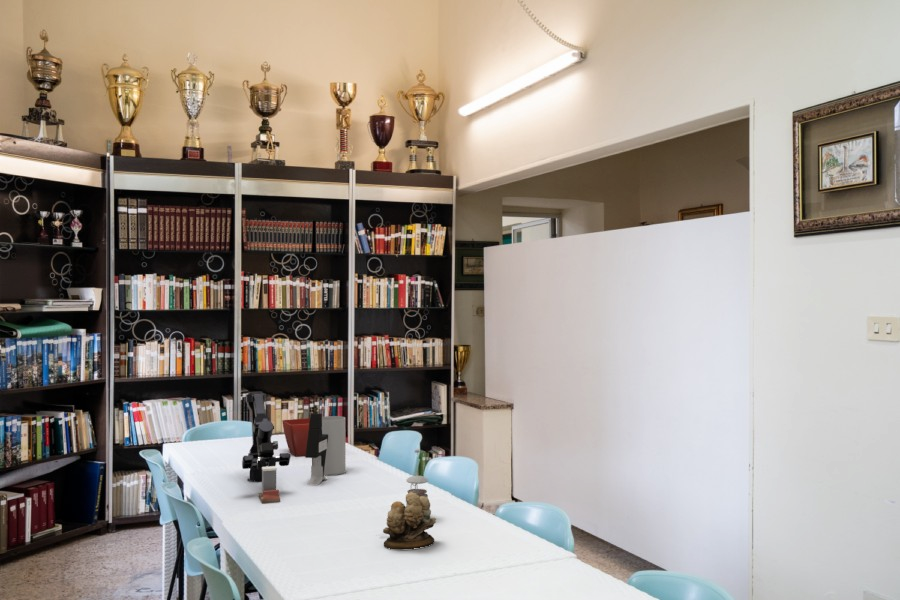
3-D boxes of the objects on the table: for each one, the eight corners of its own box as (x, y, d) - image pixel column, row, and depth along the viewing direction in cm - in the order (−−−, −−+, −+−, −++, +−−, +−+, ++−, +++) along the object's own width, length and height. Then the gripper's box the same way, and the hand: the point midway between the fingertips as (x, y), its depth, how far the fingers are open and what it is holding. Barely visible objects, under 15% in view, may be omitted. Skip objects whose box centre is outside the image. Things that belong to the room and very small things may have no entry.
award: (316, 486, 340) (316, 415, 339) (304, 485, 341) (304, 415, 341) (328, 478, 354) (328, 410, 354) (317, 477, 355) (317, 410, 355)
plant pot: (281, 452, 416) (281, 419, 416) (317, 449, 424) (317, 417, 424) (290, 458, 398) (290, 424, 398) (327, 455, 406) (327, 422, 406)
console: (258, 496, 321) (258, 485, 321) (276, 495, 324) (276, 484, 324) (262, 503, 311) (262, 491, 311) (280, 501, 313) (280, 490, 313)
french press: (406, 522, 285) (406, 452, 285) (400, 513, 296) (400, 446, 296) (433, 520, 288) (433, 450, 288) (425, 512, 299) (425, 445, 299)
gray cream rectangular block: (261, 494, 319) (261, 467, 319) (275, 493, 320) (275, 466, 320) (263, 496, 315) (263, 469, 315) (276, 495, 317) (276, 468, 317)
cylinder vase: (348, 470, 372) (348, 416, 372) (341, 476, 359) (341, 420, 359) (321, 469, 373) (321, 415, 373) (314, 475, 361) (314, 420, 360)
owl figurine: (428, 535, 269) (428, 485, 269) (443, 545, 259) (443, 493, 259) (377, 542, 262) (378, 490, 262) (391, 553, 251) (391, 498, 251)
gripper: (242, 435, 321) (245, 468, 311) (289, 433, 328) (294, 465, 318) (240, 452, 329) (243, 484, 318) (286, 449, 335) (290, 480, 325)
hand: (268, 478), depth 320 cm, fingers closed, pressing on gray cream rectangular block
